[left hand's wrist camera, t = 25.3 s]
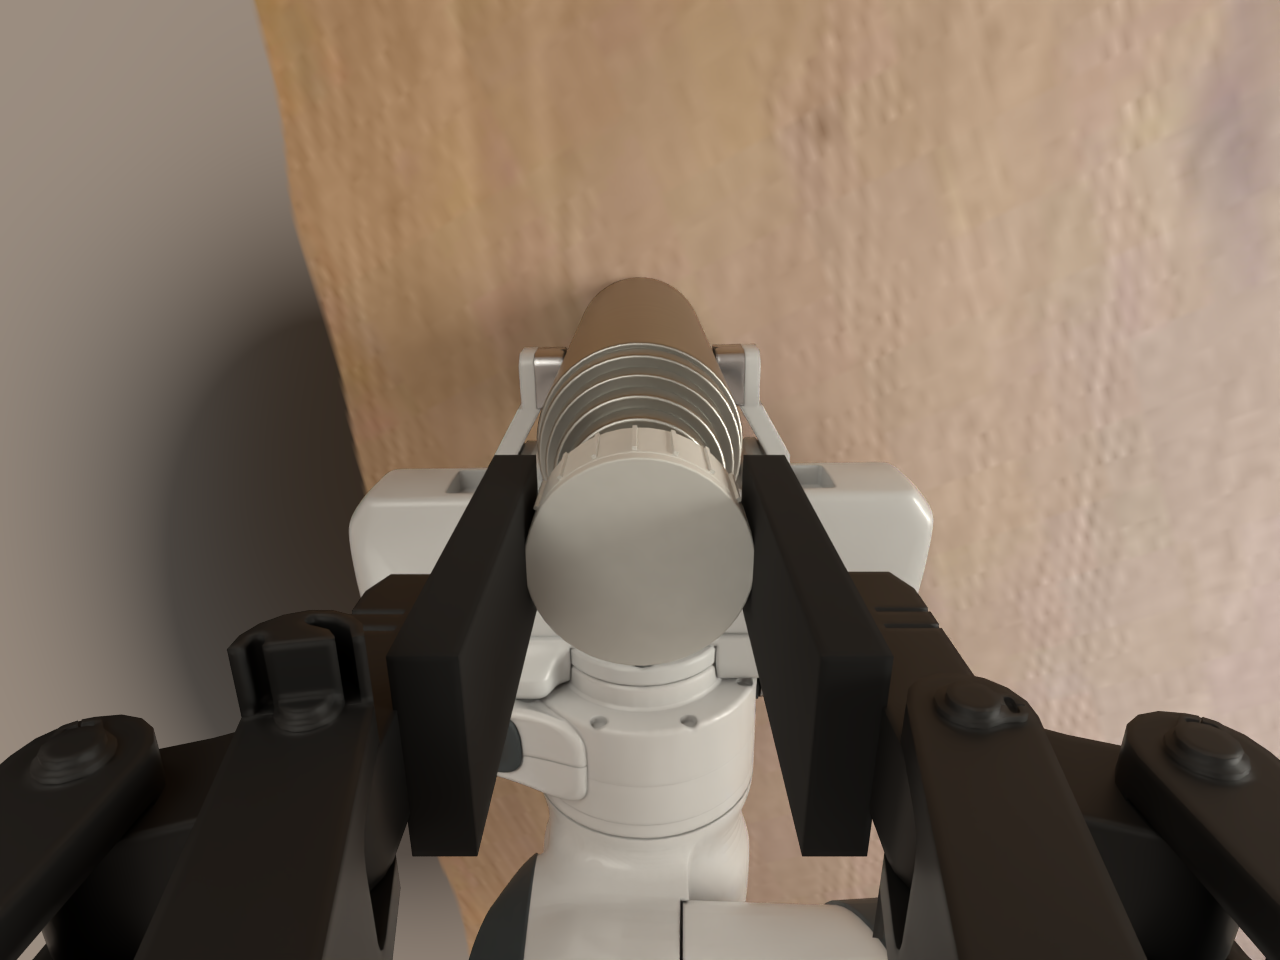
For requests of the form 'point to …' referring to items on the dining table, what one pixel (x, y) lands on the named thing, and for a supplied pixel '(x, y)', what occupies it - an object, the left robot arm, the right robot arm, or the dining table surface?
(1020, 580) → the dining table surface
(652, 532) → the cap
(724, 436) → the bottle
